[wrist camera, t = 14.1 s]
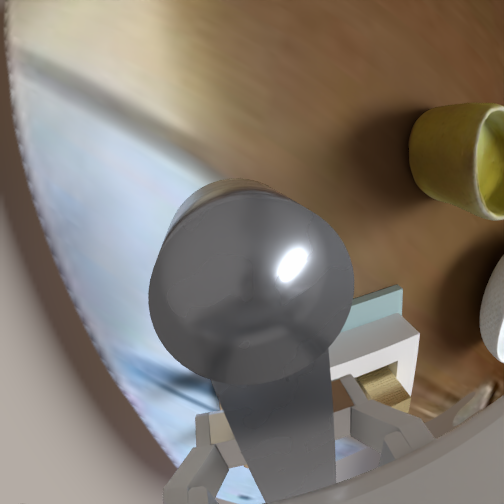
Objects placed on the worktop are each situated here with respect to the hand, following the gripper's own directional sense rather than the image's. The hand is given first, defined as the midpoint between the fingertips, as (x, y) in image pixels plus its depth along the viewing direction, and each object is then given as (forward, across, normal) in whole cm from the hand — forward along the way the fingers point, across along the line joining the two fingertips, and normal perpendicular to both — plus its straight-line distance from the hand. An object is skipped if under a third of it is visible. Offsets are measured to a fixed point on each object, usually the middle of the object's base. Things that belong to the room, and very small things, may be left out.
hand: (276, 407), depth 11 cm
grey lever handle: (+2, 0, -1) cm, 2 cm away
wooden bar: (+14, -10, +13) cm, 21 cm away
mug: (+15, -22, -5) cm, 27 cm away
